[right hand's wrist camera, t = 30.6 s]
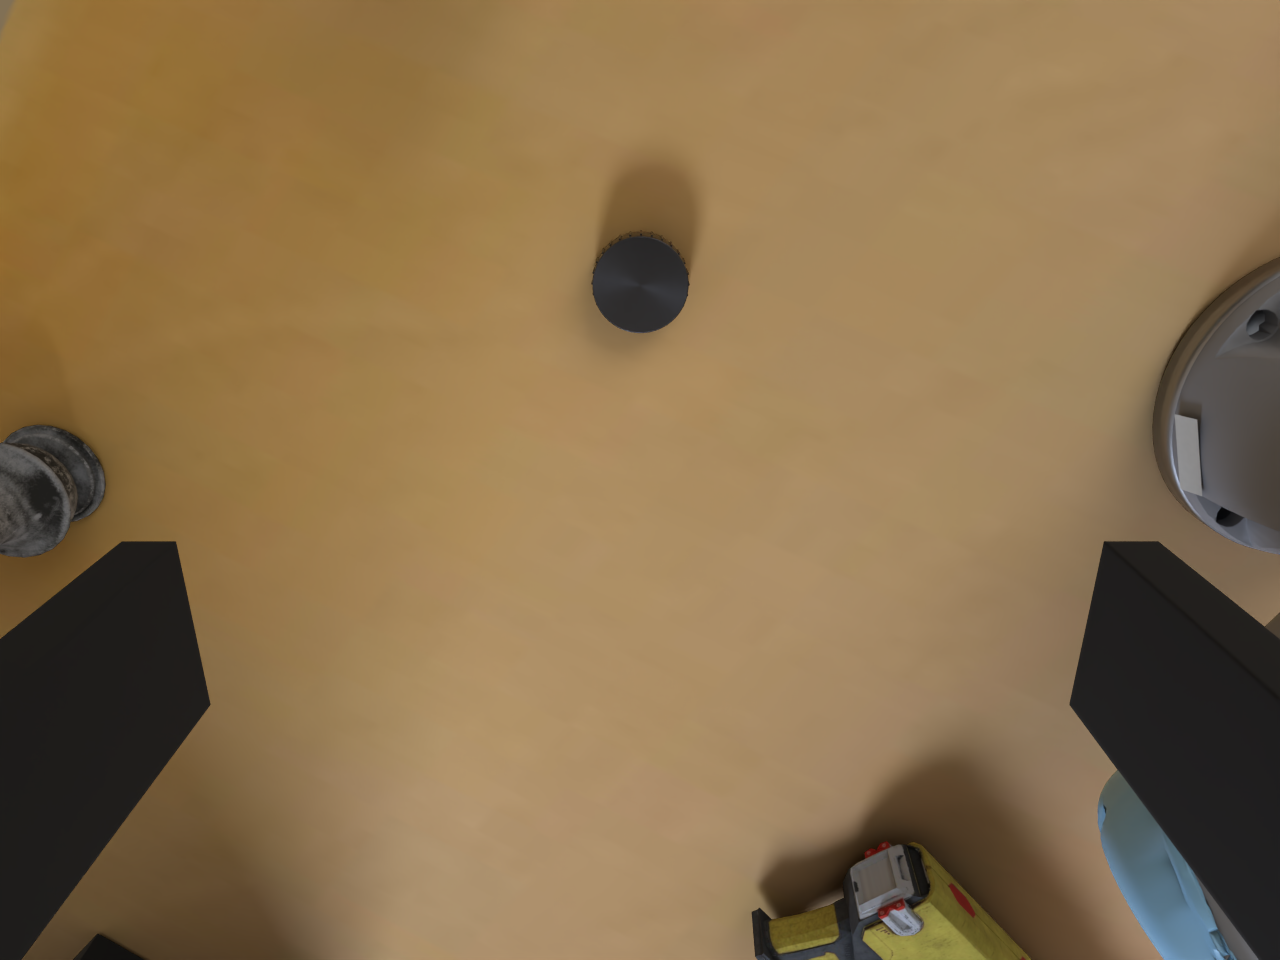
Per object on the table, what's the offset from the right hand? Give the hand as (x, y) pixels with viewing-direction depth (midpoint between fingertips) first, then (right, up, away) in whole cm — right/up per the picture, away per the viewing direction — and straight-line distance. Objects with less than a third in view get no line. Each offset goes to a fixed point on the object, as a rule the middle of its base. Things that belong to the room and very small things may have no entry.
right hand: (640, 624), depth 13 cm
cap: (0, +11, +28) cm, 30 cm away
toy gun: (+18, -31, +46) cm, 58 cm away
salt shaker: (-30, +2, +33) cm, 44 cm away
